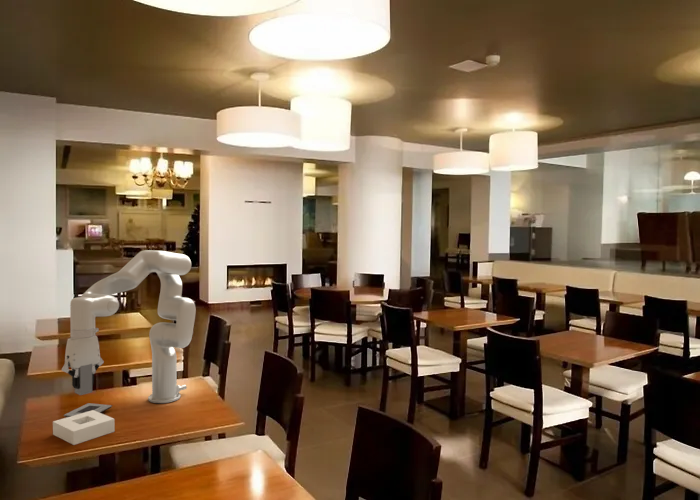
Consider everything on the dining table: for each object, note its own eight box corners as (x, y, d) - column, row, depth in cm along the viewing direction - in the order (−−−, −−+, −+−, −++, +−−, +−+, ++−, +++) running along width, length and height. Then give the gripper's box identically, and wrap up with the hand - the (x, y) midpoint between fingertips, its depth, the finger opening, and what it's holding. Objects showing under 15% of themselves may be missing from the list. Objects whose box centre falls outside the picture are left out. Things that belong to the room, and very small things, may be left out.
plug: (86, 390, 181) (86, 357, 180) (92, 392, 178) (92, 358, 178) (74, 392, 177) (74, 359, 177) (80, 395, 175) (80, 361, 175)
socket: (93, 422, 189) (93, 410, 188) (114, 431, 180) (114, 418, 180) (53, 434, 177) (52, 421, 177) (73, 445, 169) (73, 431, 169)
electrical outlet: (88, 423, 189) (88, 416, 189) (63, 420, 191) (63, 414, 191) (112, 410, 202) (112, 404, 201) (88, 408, 204) (88, 402, 204)
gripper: (100, 328, 186) (101, 378, 187) (52, 335, 172) (52, 390, 173) (112, 331, 182) (112, 382, 183) (63, 339, 168) (63, 394, 169)
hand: (83, 385), depth 178 cm, fingers closed on plug, 4 cm apart
